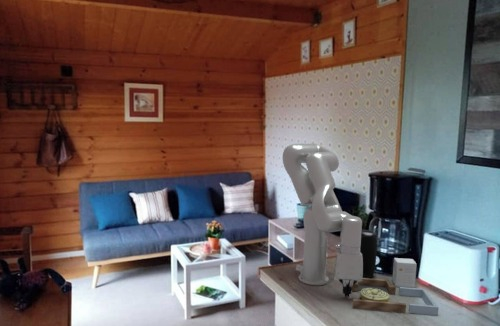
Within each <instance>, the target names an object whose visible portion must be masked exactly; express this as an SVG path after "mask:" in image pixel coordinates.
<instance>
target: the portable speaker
mask: <svg viewBox="0 0 500 326" xmlns="http://www.w3.org/2000/svg"><path fill="white" fill-rule="evenodd" d="M377 249H378V233H376V232H374V231H372V230H369V229H362V231H361V245H360V252H361V253H362V257H363V277H362V278H374V275H375V272H376V264H377V253H378V252H377Z"/></svg>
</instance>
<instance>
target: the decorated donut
mask: <svg viewBox="0 0 500 326" xmlns="http://www.w3.org/2000/svg"><path fill="white" fill-rule="evenodd" d="M359 295H360V299H361V300H371V301H382V302H390V294H388V293H386V292H385V291H383V290H380V289H376V288H364V289H362V290H361V291H359Z"/></svg>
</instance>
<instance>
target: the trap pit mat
mask: <svg viewBox="0 0 500 326" xmlns="http://www.w3.org/2000/svg"><path fill="white" fill-rule="evenodd" d="M364 288H376V289H380V290H383V291H385V292H386V293H388V292H387V290H386V288H384V287H372V286H360V285H358V292H360V291H361V290H362V289H364Z"/></svg>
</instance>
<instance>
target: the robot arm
mask: <svg viewBox="0 0 500 326" xmlns="http://www.w3.org/2000/svg"><path fill="white" fill-rule="evenodd" d="M282 164H283V167H284V169H285V171H286V173H287V175H288V176H289V178H290V179H291V182H292V185H293V188H294V190H295V193H296V195H297V197H298V200H299V202H300V204H302V206H306V207H307V206H308V208H307V209H305V210H304V212H303V217H302V218H303V228H304V241H303V242H304V243H303V259H302V265H301V264H296V266H295V271H297V272H299V274H298V281H300V282H301V283H303V284H306V285H310V286H316V287H317V286H325V285H327V284H328V283H329V281H330V279H329V277H328V275H326V269H327V257H328V256H327V253H328V237H327V235H326V234H327V233H335V232H340V238H339V240H340V241H339V243H338V244H336V245H335V249H336V250H337V249H338V250H337V253H336V258H335V263H334V274H333V277H332V278H333V280H335V281H338V282H339V283H341V284H342V285H343V286H342V294H343V295H344V297H345V298H346V297H347V298H350V295H352V291H351V288H352V286H353V285H354V284H355V283H356V282H362V277H363V257H362V253H361V252H360V245H361V231H363V228H362V227H363V220H362V219H361V217H359V216H356V215H352V214H350V213H348V212H347V211H345V210H344V211H343V209H342V206H341V205H340V203H339V200H338V198H337V196H336V194H335V192H334V189H335V188H336V182H335V180H334V178H333V177H334V176H333V174H332V172H335V171H336V170H337V169H338V168H339V164H340V162H339V157H338V156H337V155H336V153H334V151H331V150H329V149H328V148H325V147H324V146H321V145H320V144H317V143H292V144H289V145H287V146H286V147H285V148H284V150H283V152H282ZM302 164H305V166H306V167H305V166H304V165H302ZM347 281H348V282H349V283H348V282H347Z"/></svg>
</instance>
